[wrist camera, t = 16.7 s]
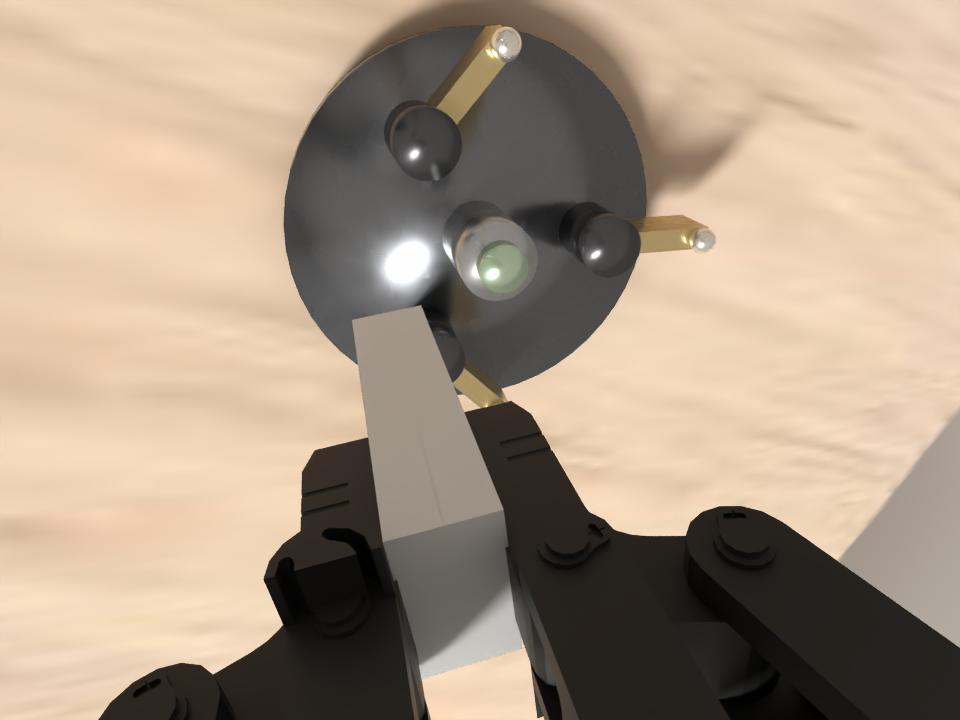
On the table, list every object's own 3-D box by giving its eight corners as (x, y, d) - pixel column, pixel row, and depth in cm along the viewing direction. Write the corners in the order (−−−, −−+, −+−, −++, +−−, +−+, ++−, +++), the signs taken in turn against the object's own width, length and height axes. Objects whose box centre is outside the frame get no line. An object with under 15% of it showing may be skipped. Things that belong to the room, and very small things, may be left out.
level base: (254, 26, 29) (234, 21, 22) (651, 27, 33) (739, 23, 26) (312, 397, 39) (311, 474, 32) (613, 361, 43) (669, 421, 36)
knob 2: (387, 334, 36) (395, 369, 32) (425, 297, 35) (438, 327, 31) (474, 405, 39) (491, 444, 36) (510, 372, 39) (531, 408, 35)
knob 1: (419, 178, 32) (433, 197, 28) (371, 137, 30) (378, 151, 27) (517, 56, 30) (546, 58, 27) (471, 7, 29) (494, 1, 25)
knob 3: (557, 257, 36) (585, 282, 32) (560, 203, 34) (590, 223, 31) (675, 247, 38) (715, 270, 34) (683, 195, 36) (726, 213, 32)
